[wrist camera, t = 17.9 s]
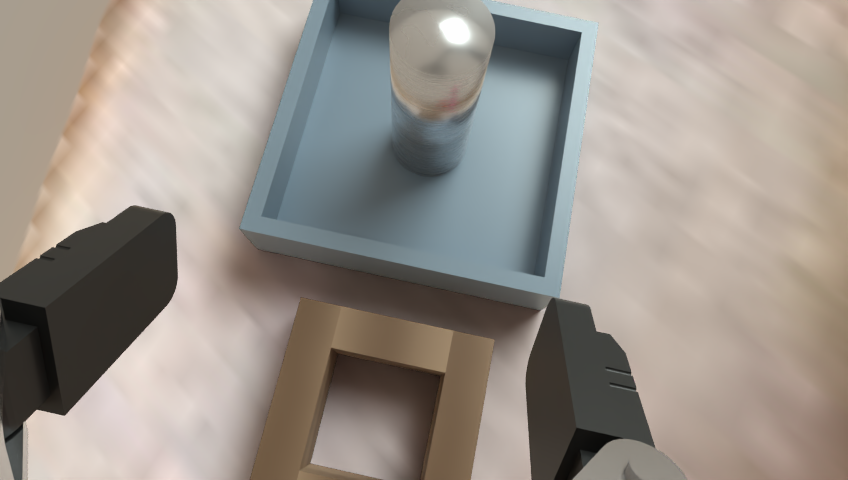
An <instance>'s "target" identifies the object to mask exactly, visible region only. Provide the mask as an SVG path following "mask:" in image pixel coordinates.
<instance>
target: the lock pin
mask: <svg viewBox="0 0 848 480" xmlns="http://www.w3.org/2000/svg"><path fill="white" fill-rule="evenodd" d="M494 40H495V24H494V20H493V17H492V15H491V13H490V11H489V10H488V8H487V7H486V5H485V4H484V3H483V2H482V1H481V0H401V1H400V2H399V3H398V4H397V5H396V7H395V9H394V10H393V12H392V15H391V18H390V23H389V44H390V80H391V116H392V146H393V151H394V154H395V156H396V158H397V160H398V161H399V162H400V164H401V165H402V166H403V167H404V168H406V169H407V170H409V171H410V172H412V173H414V174H417V175H420V176H426V177H434V176H440V175H443V174H446V173H448V172H450V171H451V170H453V169H454V168H455V167H456V166H458V164H459V163H460V162H461V160H462V159H463V157H464V154H465V151H466V147H467V143H468V139H469V136H470V132H471V128H472V124H473V120H474V116H475V113H476V109H477V105H478V101H479V97H480V93H481V90H482V86H483V82H484V78H485V74H486V70H487V67H488V63H489V59H490V55H491V51H492V48H493V44H494Z"/></svg>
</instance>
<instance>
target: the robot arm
mask: <svg viewBox="0 0 848 480" xmlns="http://www.w3.org/2000/svg"><path fill="white" fill-rule="evenodd" d="M177 279H178V270H177V243H176V222H175V219H174V216H173V215H172V214H171V213H168V212H163V211H159V210H154V209H150V208H145V207H140V206H130V207H129V208H127V209H126V210H124V211H123V212H122V213H120V214H119V215H117V216H116V217H114V218H113V219H112V220H110V221H109V222H107V223H103V222H102V223H99V224H96V225H93V226H91V227H88V228H85V229H82V230H79V231H76V232H75V233H73V234H72V235H70V236H69V237H67V238H66V239H64V240H63V241H61V242H60V243H58V244H57V245H56V248H54V247H52V248H51V249H49V250H48V251H46V252H45V253H43V254H42V255H40V258H39V259H37V258H36V259H34V260H33V261H31V262H30V263H28V264H27V265H25V266H24V267H22V268H21V269H19V270H18V271H16V272H15V273H13V274H12V275H10V276H9V277H8V278H6V279H5V280H3V281H2V282H0V480H28V428H27V424H26V420H27V419H28V418H29V417H30V416H31V415H32V414H33V413H34V412H35V411H36V410H41V411H46V412H50V413H55V414H59V415H64V416H65V415H66V414H67V413H68V412H69V410H70V409H71V408H72V407H73V406H74V405H75V404H76V403H77V402H78V401H79V400H80V399H81V398H82V396H83V395H84V394H85V393H86V392H87V391H88V390H89V389H90V388H91V387H92V386H93V385H94V384H95V382H96V381H97V380H98V379H99V378H100V377H101V376H102V375H103V374H104V373H105V372H106V371H107V369H108V368H109V367H110V366H111V365H112V364H113V363H114V362H115V361H116V360H117V359H118V358H119V357H120V355H121V354H122V353H123V352H124V351H125V350H126V349H127V348H128V347H129V346H130V345H131V344H132V342H133V341H134V340H135V339H136V338H137V337H138V336H139V335H140V334H141V333H142V332H143V331H144V330H145V328H146V327H147V326H148V325H149V324H150V323H151V322H152V321H153V320H154V319H155V318H156V317H157V316H158V314H159V313H160V312H161V311H162V310H163V309H164V308H165V307H166V306H167V305H168V303H169V302H170V300H171V299H172V297H173V294H174V292H175V289H176V285H177ZM526 399H527V415H528V431H529V446H530V462H531V478H532V480H687V478H686V477H685V475H684V474H683V472H682V471H681V470H680V468H679V467H678V466H677V465H676V464H675V463H674V462H673V461H672V460H671V459H670V458H669V457H667V456H666V455H665V454H663V453H662V452H660V451H659V450H657V449H656V448H655V445H654V442H653V439H652V436H651V433H650V429H649V426H648V423H647V420H646V417H645V414H644V410H643V407H642V404H641V401H640V398H639V395H638V392H636V385H635V382H634V379H633V376H631V369H630V366H629V363H628V360H627V357H626V353H625V352H624V351H623V350H622V348H621V347H620V346H619V345H618V343H617V342H616V341H615V340H614V339H613V337H612V336H611V335H610V334H606V333H601V332H597V331H596V328H595V325H594V321H593V317H592V313H591V309H590V307H589V305H586V304H581V303H576V302H572V301H567V300H563V299H558V298H551V300H550V301H549V303H548V306H547V308H546V311H545V314H544V317H543V320H542V322H541V325H540V328H539V331H538V334H537V337H536V340H535V342H534V345H533V348H532V351H531V354H530V357H529V361H528V366H527V372H526Z"/></svg>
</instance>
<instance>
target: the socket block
mask: <svg viewBox="0 0 848 480" xmlns="http://www.w3.org/2000/svg"><path fill="white" fill-rule="evenodd" d="M494 341H495V340H494V339H490V338H485V337H481V336H476V335H472V334H467V333H462V332H458V331H453V330H449V329H444V328H440V327H435V326H430V325H426V324H421V323H417V322H412V321H407V320H403V319H398V318H394V317H389V316H385V315H380V314H375V313H371V312H366V311H362V310H357V309H353V308H348V307H343V306H339V305H334V304H330V303H325V302H321V301H316V300H311V299H307V298H302V297H301V299H300V302H299V306H298V310H297V313H296V317H295V320H294V324H293V327H292V331H291V335H290V338H289V342H288V345H287V349H286V352H285V356H284V360H283V363H282V367H281V370H280V374H279V377H278V381H277V385H276V388H275V392H274V395H273V399H272V402H271V406H270V410H269V413H268V417H267V420H266V424H265V427H264V431H263V435H262V438H261V442H260V445H259V449H258V452H257V456H256V460H255V463H254V467H253V470H252V474H251V477H250V480H381V479H377V478H372V477H368V476H363V475H359V474H354V473H350V472H345V471H341V470H337V469H332V468H328V467H323V466H319V465H314V464H310V462H311V458H312V455H313V451H314V447H315V443H316V439H317V435H318V431H319V427H320V423H321V419H322V415H323V411H324V407H325V403H326V399H327V395H328V391H329V387H330V383H331V379H332V375H333V371H334V367H335V364H336V360H337V356H338V354H342V355H347V356H352V357H356V358H361V359H365V360H370V361H374V362H379V363H383V364H388V365H392V366H397V367H402V368H406V369H411V370H415V371H420V372H424V373H429V374H433V375H438V376H440V381H439V386H438V391H437V396H436V401H435V407H434V412H433V417H432V422H431V427H430V432H429V437H428V442H427V447H426V452H425V457H424V462H423V467H422V472H421V477H420V480H471V474H472V468H473V462H474V456H475V451H476V445H477V439H478V433H479V428H480V422H481V416H482V410H483V404H484V399H485V393H486V387H487V381H488V376H489V370H490V364H491V358H492V352H493V347H494Z"/></svg>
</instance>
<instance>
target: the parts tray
mask: <svg viewBox="0 0 848 480" xmlns="http://www.w3.org/2000/svg"><path fill="white" fill-rule="evenodd" d="M400 1H401V0H313V3H312V6H311V9H310V12H309V15H308V18H307V21H306V24H305V28H304V31H303V34H302V37H301V40H300V43H299V46H298V49H297V52H296V55H295V58H294V61H293V64H292V68H291V71H290V74H289V77H288V80H287V83H286V86H285V89H284V92H283V95H282V98H281V101H280V104H279V108H278V111H277V114H276V117H275V120H274V123H273V126H272V129H271V132H270V135H269V138H268V141H267V145H266V148H265V151H264V154H263V157H262V160H261V163H260V166H259V169H258V172H257V175H256V178H255V181H254V185H253V188H252V191H251V194H250V197H249V200H248V203H247V206H246V209H245V212H244V215H243V218H242V221H241V225H240V228H239V229H240V230H241V231H242V232H243V233H244V235H245V236H246V237H247V238H248V239H249V240H250V241H251V242H252V243H253V245H254V246H255V247H256V248H257V249H260V250H264V251H269V252H273V253H278V254H283V255H287V256H292V257H296V258H301V259H306V260H310V261H315V262H319V263H324V264H329V265H333V266H338V267H342V268H347V269H352V270H356V271H361V272H365V273H370V274H375V275H379V276H384V277H388V278H393V279H398V280H402V281H407V282H411V283H416V284H421V285H425V286H430V287H434V288H439V289H444V290H448V291H453V292H458V293H462V294H467V295H471V296H476V297H481V298H485V299H490V300H494V301H499V302H504V303H508V304H513V305H517V306H522V307H527V308H531V309H536V310H540V311H541V310H542V309H544V308H545V307H547V306H548V303H549V301H550V300H551V298H558V299H559V297H560V290H561V283H562V276H563V269H564V262H565V255H566V248H567V241H568V234H569V227H570V220H571V213H572V206H573V199H574V192H575V185H576V178H577V171H578V164H579V157H580V150H581V143H582V136H583V129H584V122H585V115H586V108H587V101H588V94H589V87H590V80H591V73H592V66H593V59H594V52H595V44H596V37H597V30H598V23H597V22H592V21H587V20H583V19H578V18H573V17H568V16H563V15H558V14H554V13H549V12H544V11H539V10H534V9H530V8H525V7H520V6H515V5H510V4H505V3H501V2H496V1H491V0H481V1H482V2H483V3H484V4H485V5H486V7H487V8H488V10H489V11H490V13H491V15H492V17H493V20H494V24H495V40H494V44H493V48H492V51H491V55H490V59H489V63H488V67H487V70H486V74H485V78H484V82H483V86H482V90H481V93H480V97H479V101H478V105H477V109H476V113H475V116H474V120H473V124H472V128H471V132H470V136H469V139H468V143H467V147H466V151H465V154H464V157H463V159H462V160H461V162H460V163H459V164H458V166H456V167H455V168H454V169H453V170H451V171H450V172H448V173H446V174H443V175H440V176H434V177H426V176H420V175H417V174H414V173H412V172H410V171H409V170H407V169H406V168H404V167H403V166H402V165H401V164H400V162H399V161H398V160H397V158H396V156H395V154H394V151H393V146H392V116H391V80H390V44H389V23H390V18H391V15H392V12H393V10H394V9H395V7H396V5H397V4H398V3H399V2H400Z"/></svg>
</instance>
